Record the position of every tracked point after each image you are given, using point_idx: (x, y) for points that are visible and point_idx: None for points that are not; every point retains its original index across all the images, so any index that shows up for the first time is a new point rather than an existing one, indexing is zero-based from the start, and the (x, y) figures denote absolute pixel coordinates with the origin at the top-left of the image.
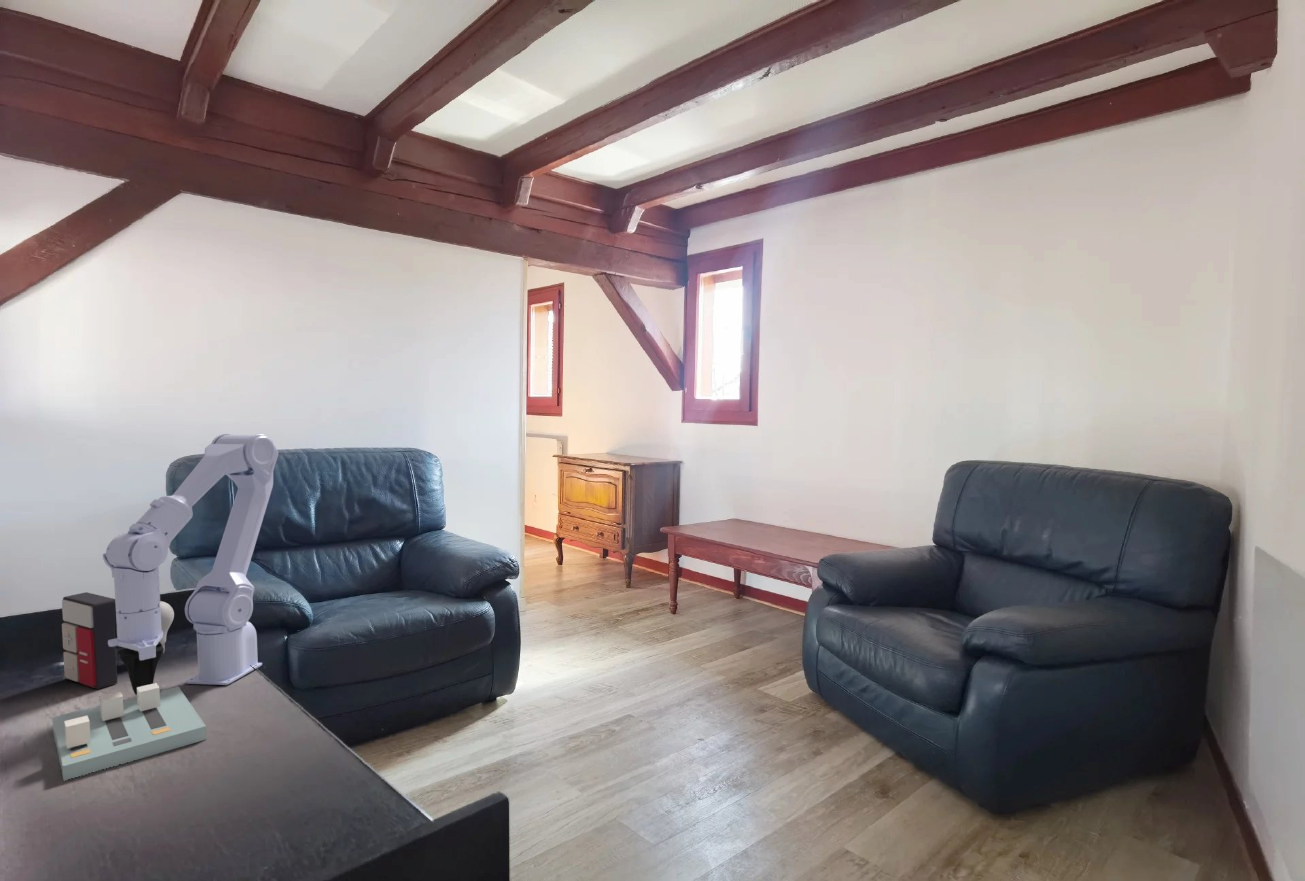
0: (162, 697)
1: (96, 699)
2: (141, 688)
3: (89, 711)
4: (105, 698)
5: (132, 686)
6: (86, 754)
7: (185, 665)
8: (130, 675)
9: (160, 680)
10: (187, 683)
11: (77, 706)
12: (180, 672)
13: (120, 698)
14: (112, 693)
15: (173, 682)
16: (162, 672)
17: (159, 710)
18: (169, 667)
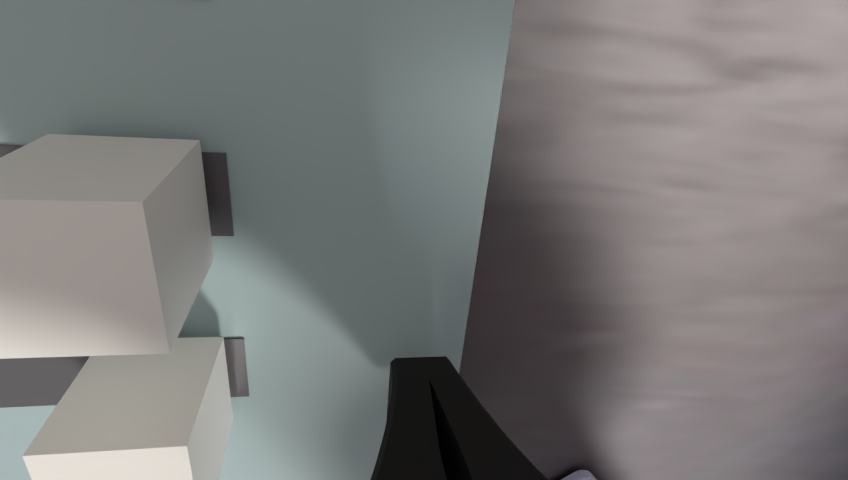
0: (333, 429)
1: (785, 166)
2: (126, 469)
3: (429, 95)
4: (13, 236)
5: (399, 393)
6: None
7: (800, 473)
8: (377, 474)
9: (733, 399)
10: (574, 472)
11: (785, 71)
12: (744, 457)
13: None
14: (154, 299)
15: (656, 432)
16: (817, 412)
17: None
18: (843, 434)
